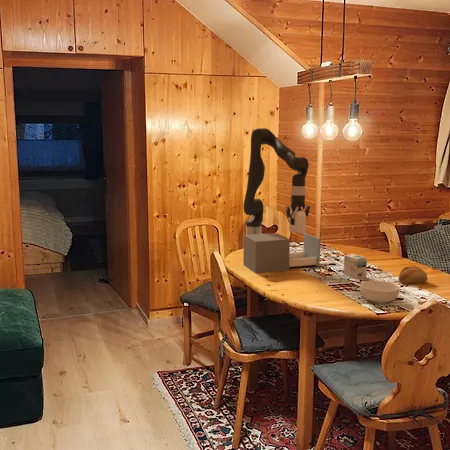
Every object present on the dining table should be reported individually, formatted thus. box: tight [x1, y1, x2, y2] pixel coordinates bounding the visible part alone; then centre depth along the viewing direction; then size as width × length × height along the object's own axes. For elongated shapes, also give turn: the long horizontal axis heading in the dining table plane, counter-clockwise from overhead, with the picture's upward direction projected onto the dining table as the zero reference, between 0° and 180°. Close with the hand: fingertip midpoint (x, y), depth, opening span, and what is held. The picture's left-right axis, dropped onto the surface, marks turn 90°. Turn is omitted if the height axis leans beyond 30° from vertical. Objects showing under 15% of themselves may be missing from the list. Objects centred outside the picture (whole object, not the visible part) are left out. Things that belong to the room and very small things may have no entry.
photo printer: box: [288, 211, 307, 235], centre depth 300 cm, size 10×4×12 cm, turn 39°
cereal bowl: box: [359, 279, 400, 304], centre depth 243 cm, size 17×17×7 cm
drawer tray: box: [289, 232, 321, 268], centre depth 303 cm, size 18×20×16 cm
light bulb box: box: [343, 253, 368, 280], centre depth 281 cm, size 11×7×11 cm, turn 27°
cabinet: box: [243, 232, 291, 274], centre depth 297 cm, size 18×20×17 cm
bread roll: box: [398, 266, 428, 284], centre depth 270 cm, size 10×15×8 cm, turn 104°
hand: (297, 224), depth 300 cm, fingers closed on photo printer, 5 cm apart
